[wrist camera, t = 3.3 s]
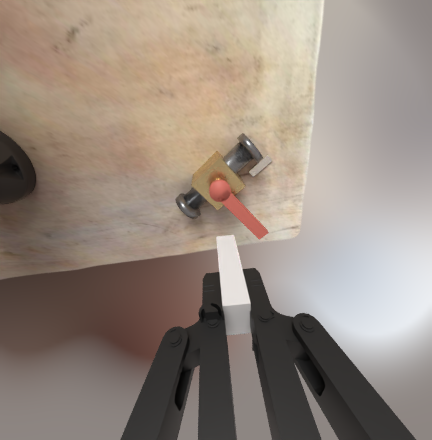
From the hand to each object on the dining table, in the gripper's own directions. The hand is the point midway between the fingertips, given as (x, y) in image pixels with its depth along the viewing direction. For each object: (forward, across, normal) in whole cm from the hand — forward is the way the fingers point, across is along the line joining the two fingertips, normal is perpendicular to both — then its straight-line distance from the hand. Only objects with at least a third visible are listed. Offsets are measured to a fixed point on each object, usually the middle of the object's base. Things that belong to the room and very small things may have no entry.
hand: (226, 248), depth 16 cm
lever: (+17, +4, -5) cm, 19 cm away
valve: (+26, +2, -1) cm, 27 cm away
